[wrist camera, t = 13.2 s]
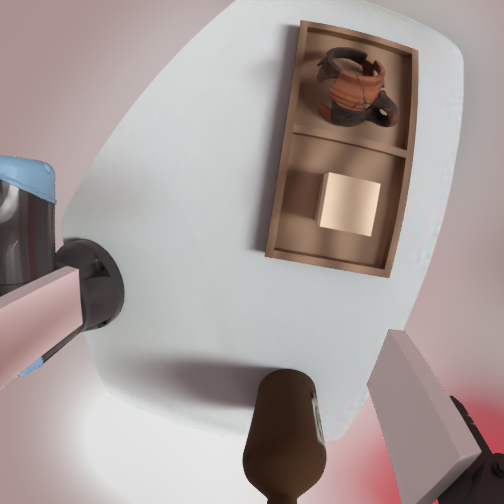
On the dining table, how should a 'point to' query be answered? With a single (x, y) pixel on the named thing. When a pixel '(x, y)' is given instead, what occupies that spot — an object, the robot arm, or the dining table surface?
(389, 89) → the walnut tray
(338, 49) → the pottery mug
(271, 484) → the olive oil
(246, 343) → the dining table surface
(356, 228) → the beech block
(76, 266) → the robot arm
